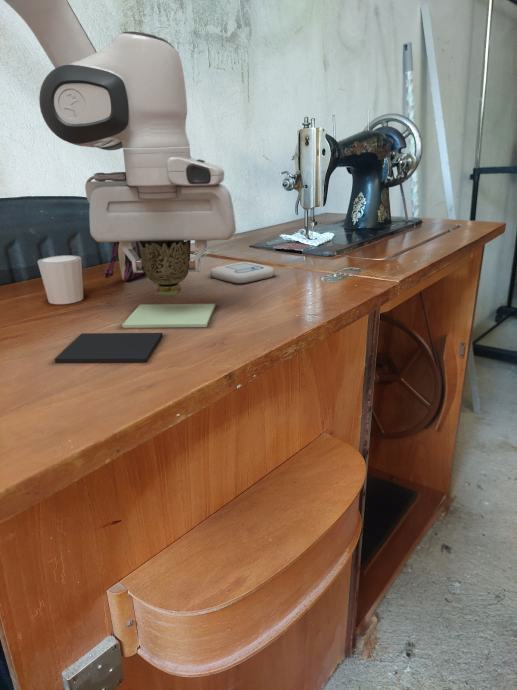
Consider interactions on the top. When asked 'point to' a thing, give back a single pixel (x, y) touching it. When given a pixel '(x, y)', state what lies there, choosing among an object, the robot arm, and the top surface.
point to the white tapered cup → (62, 278)
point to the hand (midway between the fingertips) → (167, 271)
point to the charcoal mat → (110, 347)
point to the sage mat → (170, 316)
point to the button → (242, 272)
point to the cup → (165, 263)
